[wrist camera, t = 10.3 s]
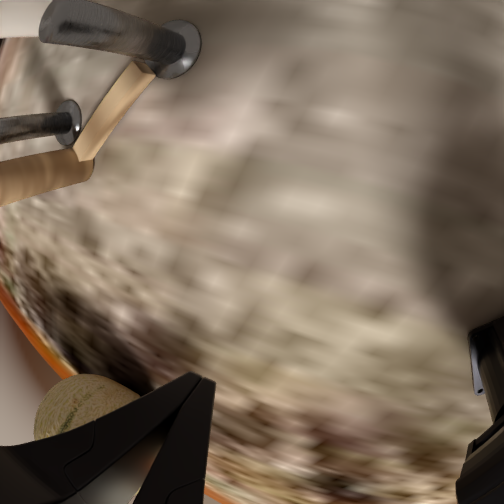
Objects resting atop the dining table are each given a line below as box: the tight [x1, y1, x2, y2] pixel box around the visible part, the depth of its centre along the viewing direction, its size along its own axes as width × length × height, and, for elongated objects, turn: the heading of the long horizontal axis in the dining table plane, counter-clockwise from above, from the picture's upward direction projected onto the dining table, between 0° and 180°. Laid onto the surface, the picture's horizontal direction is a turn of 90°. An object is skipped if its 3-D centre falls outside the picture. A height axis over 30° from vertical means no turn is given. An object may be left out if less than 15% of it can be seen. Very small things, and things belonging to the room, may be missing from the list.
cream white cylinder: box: [0, 0, 53, 38], centre depth 12 cm, size 7×7×15 cm
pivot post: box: [39, 0, 201, 79], centre depth 13 cm, size 4×4×10 cm
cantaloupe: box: [34, 374, 141, 495], centre depth 26 cm, size 15×15×15 cm
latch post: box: [0, 101, 81, 145], centre depth 16 cm, size 4×4×14 cm
